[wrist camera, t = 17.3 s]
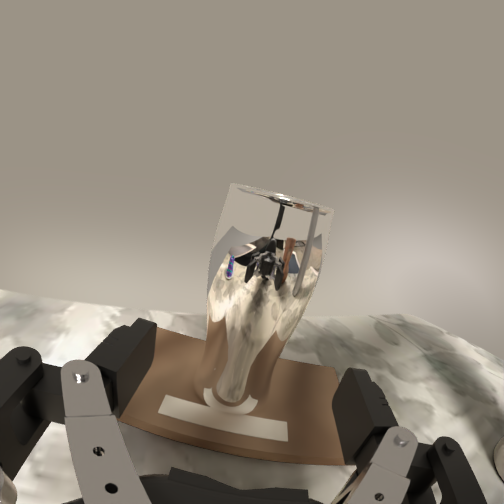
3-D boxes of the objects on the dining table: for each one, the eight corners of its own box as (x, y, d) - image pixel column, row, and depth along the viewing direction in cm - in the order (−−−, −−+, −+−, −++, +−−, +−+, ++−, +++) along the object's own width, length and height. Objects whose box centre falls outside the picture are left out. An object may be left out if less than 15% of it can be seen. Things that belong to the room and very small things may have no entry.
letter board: (330, 375, 27) (334, 367, 27) (355, 465, 16) (361, 457, 15) (140, 329, 27) (140, 321, 27) (81, 403, 15) (79, 394, 15)
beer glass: (189, 356, 24) (224, 180, 20) (265, 366, 25) (315, 202, 21) (184, 414, 17) (230, 184, 13) (281, 422, 18) (358, 217, 15)
